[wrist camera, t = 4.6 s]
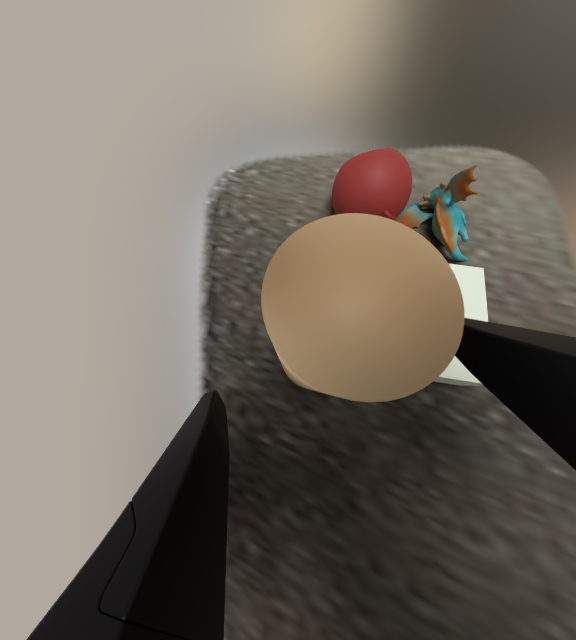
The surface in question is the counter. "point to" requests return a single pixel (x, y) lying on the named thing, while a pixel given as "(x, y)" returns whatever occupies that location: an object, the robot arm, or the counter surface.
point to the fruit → (373, 184)
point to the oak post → (362, 308)
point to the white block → (473, 309)
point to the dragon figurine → (444, 212)
